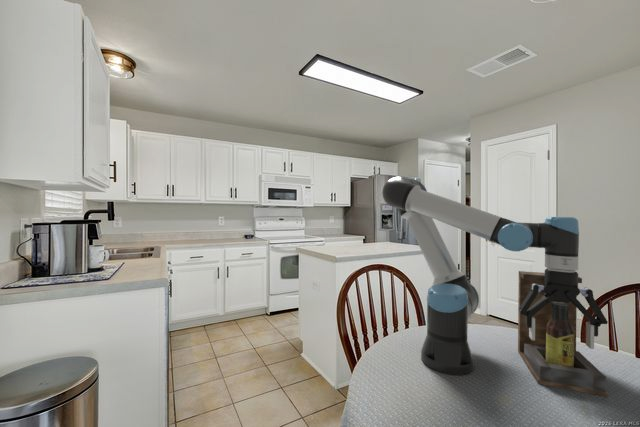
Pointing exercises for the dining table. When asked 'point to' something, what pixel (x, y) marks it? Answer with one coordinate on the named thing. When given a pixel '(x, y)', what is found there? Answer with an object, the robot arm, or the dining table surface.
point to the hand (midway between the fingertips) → (560, 342)
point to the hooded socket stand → (534, 352)
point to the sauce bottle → (560, 337)
